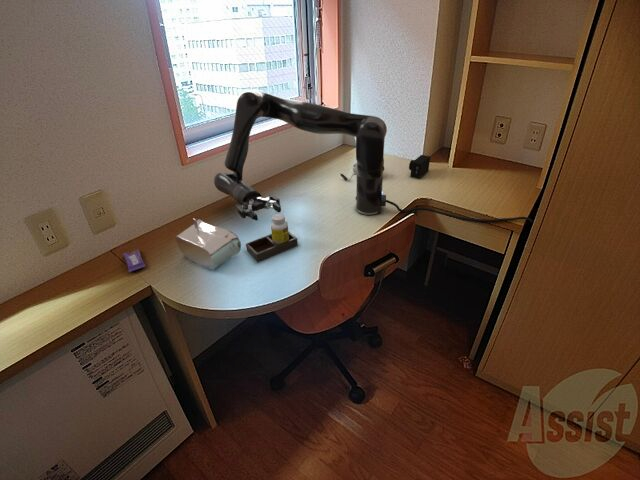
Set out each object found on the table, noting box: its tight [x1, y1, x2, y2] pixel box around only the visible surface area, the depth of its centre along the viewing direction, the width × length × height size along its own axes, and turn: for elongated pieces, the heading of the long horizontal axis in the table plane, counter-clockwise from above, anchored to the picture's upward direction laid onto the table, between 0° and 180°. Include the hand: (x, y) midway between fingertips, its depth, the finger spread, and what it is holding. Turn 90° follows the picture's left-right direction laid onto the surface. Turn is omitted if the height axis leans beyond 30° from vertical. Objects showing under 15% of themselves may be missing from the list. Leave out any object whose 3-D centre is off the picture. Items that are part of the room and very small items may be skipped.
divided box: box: [245, 230, 299, 263], centre depth 114 cm, size 8×14×3 cm, turn 125°
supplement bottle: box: [270, 213, 290, 245], centre depth 114 cm, size 5×5×10 cm
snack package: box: [122, 248, 147, 273], centre depth 111 cm, size 12×2×5 cm
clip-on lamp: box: [339, 162, 385, 182], centre depth 158 cm, size 12×6×18 cm
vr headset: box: [175, 217, 242, 271], centre depth 109 cm, size 18×11×14 cm, turn 55°
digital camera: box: [408, 154, 431, 180], centre depth 157 cm, size 10×5×7 cm, turn 144°
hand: (268, 214), depth 117 cm, fingers open, 8 cm apart
